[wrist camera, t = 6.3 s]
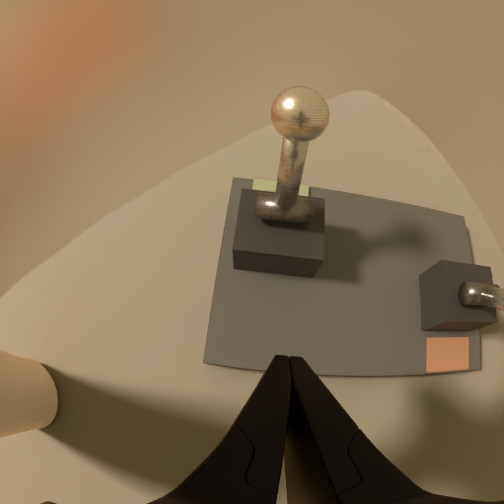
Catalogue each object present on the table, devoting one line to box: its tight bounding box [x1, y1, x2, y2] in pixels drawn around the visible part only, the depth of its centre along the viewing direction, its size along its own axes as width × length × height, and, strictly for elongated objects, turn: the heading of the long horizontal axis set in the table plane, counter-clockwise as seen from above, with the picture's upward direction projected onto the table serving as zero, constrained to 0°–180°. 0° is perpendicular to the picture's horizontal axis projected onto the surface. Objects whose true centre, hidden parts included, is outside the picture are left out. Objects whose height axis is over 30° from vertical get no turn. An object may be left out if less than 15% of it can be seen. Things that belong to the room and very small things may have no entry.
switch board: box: [203, 177, 497, 376], centre depth 18 cm, size 13×20×4 cm, turn 83°
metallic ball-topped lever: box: [255, 86, 330, 225], centre depth 14 cm, size 3×3×8 cm
